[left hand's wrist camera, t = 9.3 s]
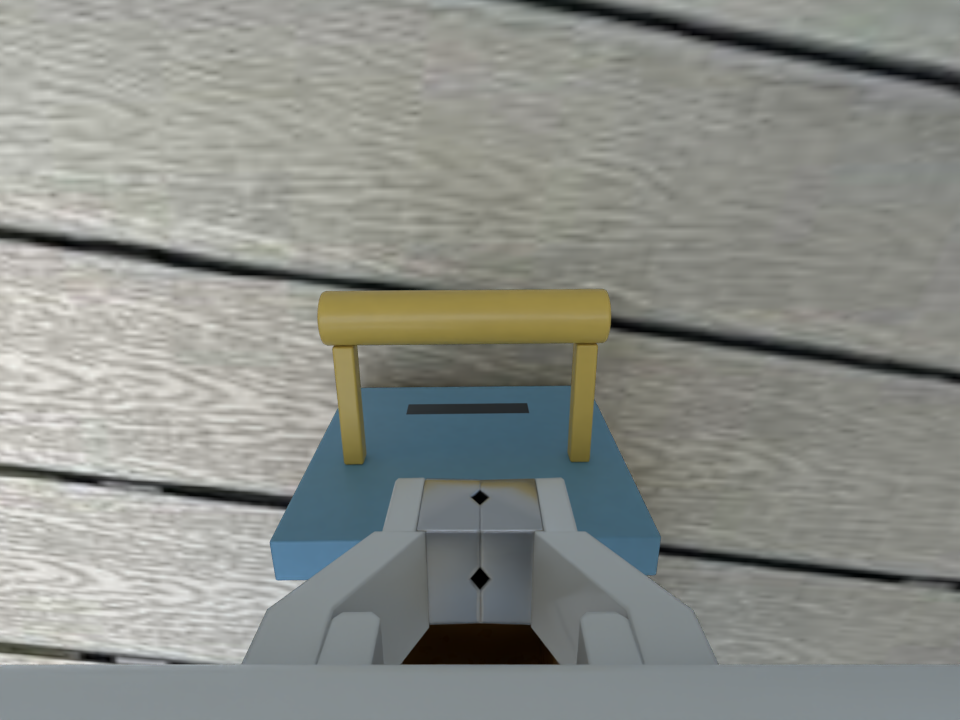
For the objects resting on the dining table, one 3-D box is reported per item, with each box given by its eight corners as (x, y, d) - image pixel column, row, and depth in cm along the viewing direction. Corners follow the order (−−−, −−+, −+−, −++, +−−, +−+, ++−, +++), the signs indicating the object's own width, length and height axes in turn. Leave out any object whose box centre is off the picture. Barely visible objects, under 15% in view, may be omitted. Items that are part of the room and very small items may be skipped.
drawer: (335, 255, 21) (234, 336, 12) (596, 253, 21) (688, 332, 12) (381, 742, 30) (343, 992, 21) (564, 739, 30) (602, 987, 21)
